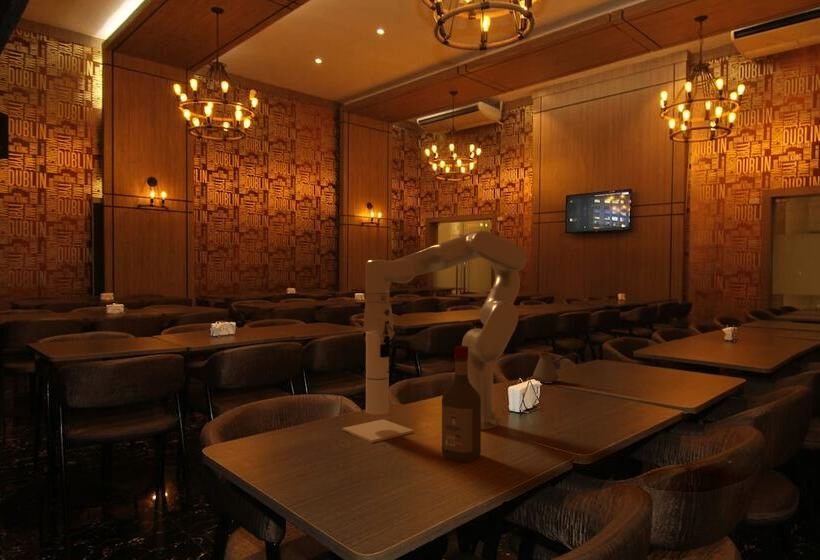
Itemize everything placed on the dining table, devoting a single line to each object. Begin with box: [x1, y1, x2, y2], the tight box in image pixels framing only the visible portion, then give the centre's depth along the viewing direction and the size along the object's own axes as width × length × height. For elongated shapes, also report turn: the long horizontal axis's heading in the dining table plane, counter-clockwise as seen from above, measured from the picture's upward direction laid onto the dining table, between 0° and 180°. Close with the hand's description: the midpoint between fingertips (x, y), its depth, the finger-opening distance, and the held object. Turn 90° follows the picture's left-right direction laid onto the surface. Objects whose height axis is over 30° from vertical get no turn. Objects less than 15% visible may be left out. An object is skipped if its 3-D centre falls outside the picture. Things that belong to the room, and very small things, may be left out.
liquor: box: [441, 345, 482, 464], centre depth 146 cm, size 9×9×30 cm
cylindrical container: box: [365, 332, 390, 415], centre depth 169 cm, size 7×7×25 cm
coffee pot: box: [532, 352, 579, 384], centre depth 242 cm, size 21×12×15 cm, turn 45°
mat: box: [342, 418, 415, 444], centre depth 169 cm, size 16×16×1 cm
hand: (377, 355), depth 169 cm, fingers closed on cylindrical container, 7 cm apart
